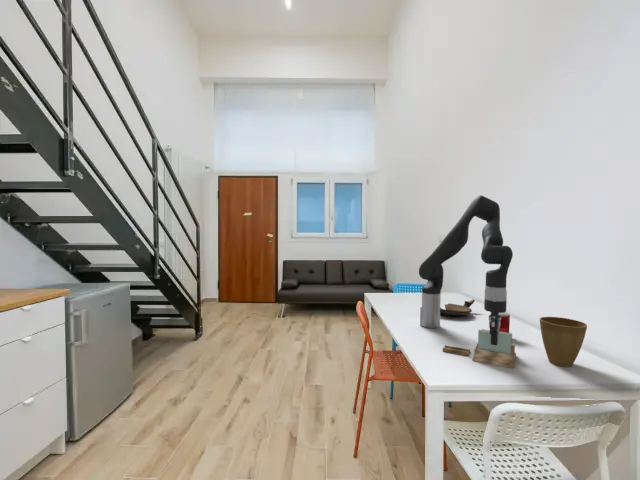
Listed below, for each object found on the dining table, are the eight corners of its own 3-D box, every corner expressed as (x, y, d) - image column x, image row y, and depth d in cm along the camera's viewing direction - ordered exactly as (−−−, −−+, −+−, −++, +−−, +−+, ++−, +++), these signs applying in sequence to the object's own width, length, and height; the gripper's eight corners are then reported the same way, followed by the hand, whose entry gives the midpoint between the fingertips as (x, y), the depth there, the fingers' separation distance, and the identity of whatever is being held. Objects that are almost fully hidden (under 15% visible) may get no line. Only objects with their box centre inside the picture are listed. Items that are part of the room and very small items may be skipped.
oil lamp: (423, 310, 221) (423, 298, 221) (470, 310, 224) (470, 297, 223) (438, 320, 199) (438, 306, 198) (490, 319, 201) (490, 305, 201)
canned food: (511, 339, 165) (512, 315, 165) (492, 338, 167) (493, 314, 166) (506, 334, 172) (506, 311, 172) (488, 333, 174) (488, 310, 174)
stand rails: (442, 351, 148) (442, 347, 148) (444, 348, 152) (445, 345, 151) (468, 356, 143) (468, 352, 143) (470, 352, 146) (470, 349, 146)
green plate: (477, 351, 139) (478, 330, 138) (478, 349, 140) (479, 329, 140) (510, 356, 133) (510, 335, 133) (510, 355, 135) (511, 334, 134)
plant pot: (568, 373, 126) (570, 328, 126) (529, 359, 140) (530, 318, 139) (594, 367, 132) (596, 324, 132) (554, 354, 146) (555, 314, 145)
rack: (472, 360, 138) (472, 349, 138) (478, 349, 151) (478, 338, 151) (513, 368, 131) (514, 356, 131) (516, 355, 144) (516, 344, 143)
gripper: (486, 294, 144) (485, 337, 144) (482, 300, 132) (481, 347, 132) (507, 296, 140) (506, 340, 140) (505, 302, 128) (503, 351, 129)
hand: (494, 343), depth 136 cm, fingers closed on green plate, 1 cm apart
